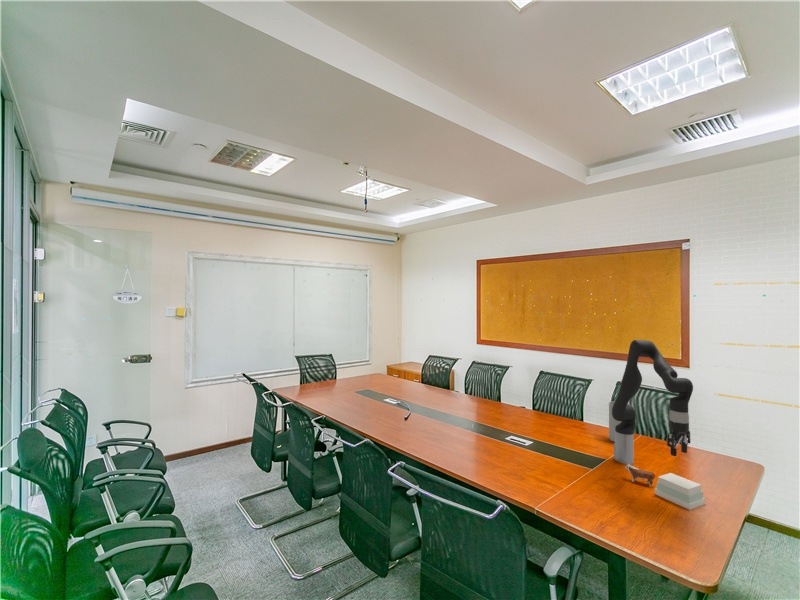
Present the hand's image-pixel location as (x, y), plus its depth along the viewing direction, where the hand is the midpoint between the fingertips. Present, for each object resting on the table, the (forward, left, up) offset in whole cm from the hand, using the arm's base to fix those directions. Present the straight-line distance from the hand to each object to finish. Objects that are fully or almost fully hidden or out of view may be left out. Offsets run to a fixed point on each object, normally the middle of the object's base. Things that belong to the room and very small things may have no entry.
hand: (678, 454), depth 171 cm
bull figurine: (-18, -1, -22) cm, 28 cm away
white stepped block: (0, 0, -22) cm, 22 cm away
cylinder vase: (-60, +45, -22) cm, 78 cm away
